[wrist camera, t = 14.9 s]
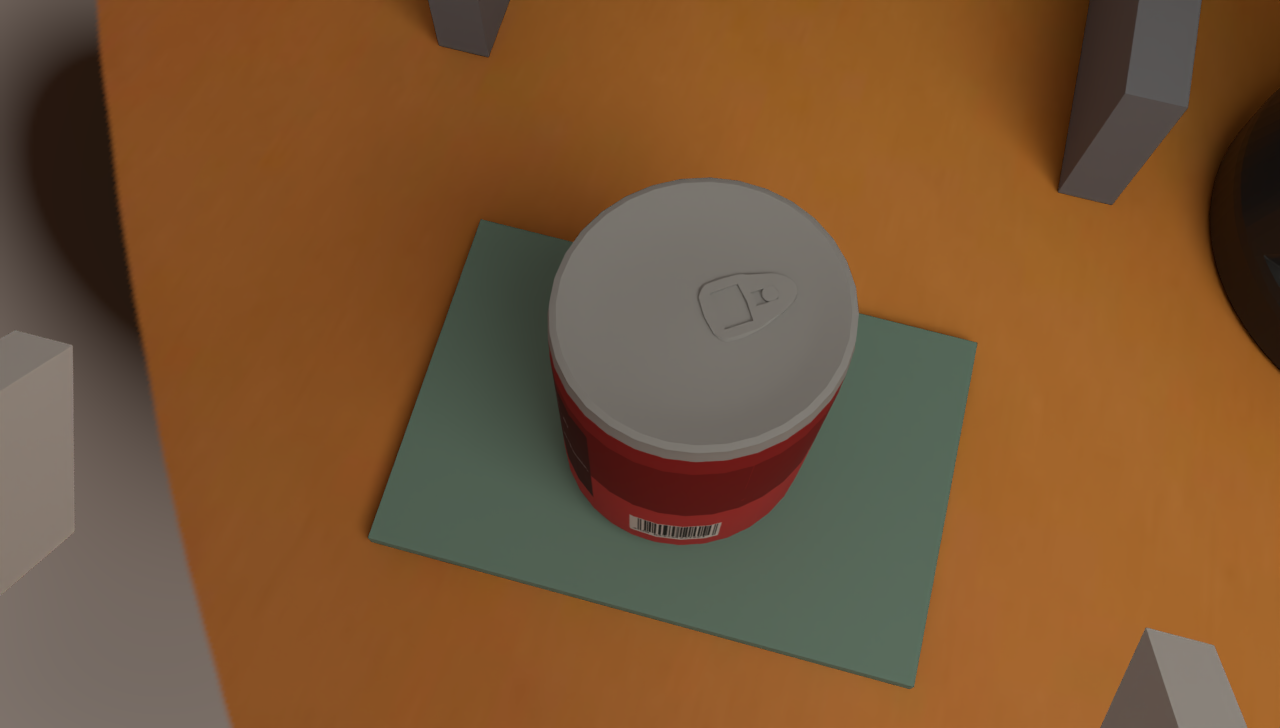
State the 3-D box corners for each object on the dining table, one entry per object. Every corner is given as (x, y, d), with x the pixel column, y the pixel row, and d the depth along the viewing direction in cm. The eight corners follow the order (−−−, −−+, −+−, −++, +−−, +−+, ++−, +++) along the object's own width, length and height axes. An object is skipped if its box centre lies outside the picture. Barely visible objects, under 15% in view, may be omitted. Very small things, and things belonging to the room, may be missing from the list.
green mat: (972, 349, 43) (977, 342, 42) (909, 689, 39) (913, 686, 38) (482, 227, 44) (480, 219, 44) (371, 541, 40) (368, 537, 40)
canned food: (848, 462, 41) (924, 338, 30) (654, 601, 39) (664, 520, 29) (711, 290, 43) (738, 121, 33) (521, 415, 41) (486, 278, 31)
